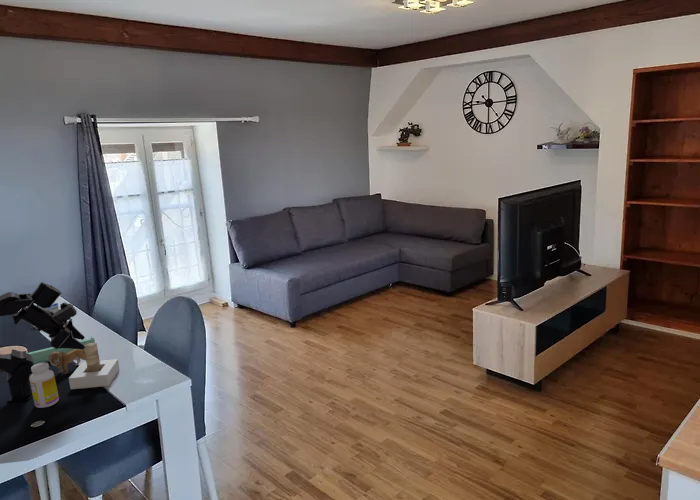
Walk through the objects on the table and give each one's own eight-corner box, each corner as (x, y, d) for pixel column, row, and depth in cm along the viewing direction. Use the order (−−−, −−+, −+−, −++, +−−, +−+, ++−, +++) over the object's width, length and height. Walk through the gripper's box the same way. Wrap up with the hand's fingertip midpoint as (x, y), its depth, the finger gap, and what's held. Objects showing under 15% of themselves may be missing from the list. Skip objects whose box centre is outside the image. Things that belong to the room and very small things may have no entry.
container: (17, 353, 184) (93, 335, 197) (18, 354, 189) (93, 336, 202) (20, 369, 184) (96, 350, 196) (21, 369, 189) (96, 351, 201)
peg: (100, 381, 174) (94, 347, 171) (87, 382, 173) (81, 348, 170) (103, 375, 177) (98, 342, 174) (91, 376, 177) (86, 343, 174)
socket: (108, 385, 170) (106, 374, 169) (70, 389, 169) (68, 378, 168) (119, 369, 182) (117, 359, 181) (84, 372, 180) (82, 362, 179)
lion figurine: (58, 379, 176) (53, 355, 174) (48, 376, 178) (43, 353, 176) (94, 361, 189) (91, 339, 187) (85, 359, 191) (81, 337, 189)
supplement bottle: (62, 396, 164) (55, 359, 161) (54, 407, 158) (46, 369, 155) (40, 398, 163) (33, 361, 160) (30, 409, 157) (23, 371, 154)
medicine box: (39, 322, 231) (35, 304, 229) (47, 319, 235) (44, 301, 233) (53, 324, 229) (49, 305, 227) (61, 320, 233) (57, 302, 231)
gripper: (56, 307, 157) (101, 332, 164) (58, 291, 173) (99, 315, 181) (31, 336, 155) (78, 361, 163) (35, 317, 171) (77, 341, 179)
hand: (84, 343), depth 171 cm, fingers open, 9 cm apart
